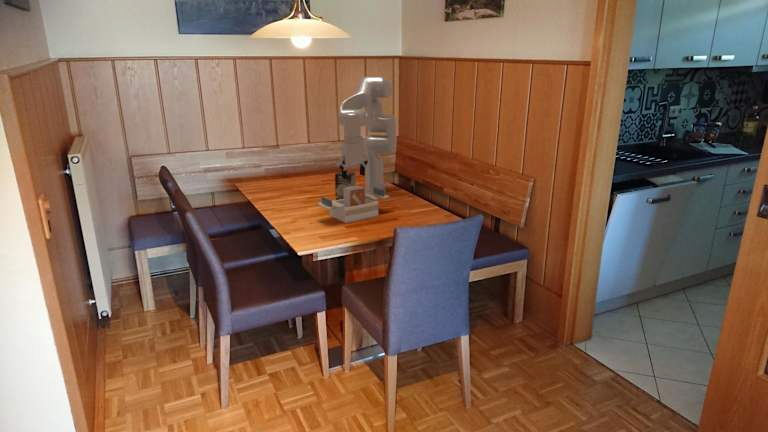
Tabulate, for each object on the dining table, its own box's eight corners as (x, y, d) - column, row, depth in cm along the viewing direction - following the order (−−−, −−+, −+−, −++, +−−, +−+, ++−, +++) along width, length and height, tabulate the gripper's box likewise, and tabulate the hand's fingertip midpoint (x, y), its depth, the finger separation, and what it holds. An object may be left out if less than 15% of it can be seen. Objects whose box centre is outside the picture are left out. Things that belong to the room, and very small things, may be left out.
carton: (361, 209, 252) (361, 195, 250) (378, 216, 241) (378, 201, 239) (329, 215, 241) (329, 201, 239) (345, 223, 231) (345, 208, 228)
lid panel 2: (375, 200, 239) (375, 193, 238) (361, 195, 248) (361, 188, 247) (389, 197, 244) (389, 190, 243) (376, 192, 253) (376, 185, 252)
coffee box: (335, 204, 260) (333, 173, 255) (340, 201, 265) (339, 171, 261) (351, 206, 257) (351, 175, 252) (356, 203, 262) (355, 172, 258)
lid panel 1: (332, 201, 238) (332, 193, 237) (344, 206, 230) (344, 198, 229) (316, 204, 234) (315, 196, 233) (328, 209, 225) (328, 202, 224)
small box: (350, 217, 237) (349, 190, 233) (343, 214, 242) (342, 187, 238) (365, 214, 241) (365, 187, 237) (358, 211, 246) (357, 185, 242)
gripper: (363, 136, 238) (364, 172, 244) (331, 141, 229) (333, 178, 234) (372, 139, 232) (373, 175, 238) (340, 143, 223) (341, 181, 228)
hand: (353, 176), depth 236 cm, fingers open, 9 cm apart
